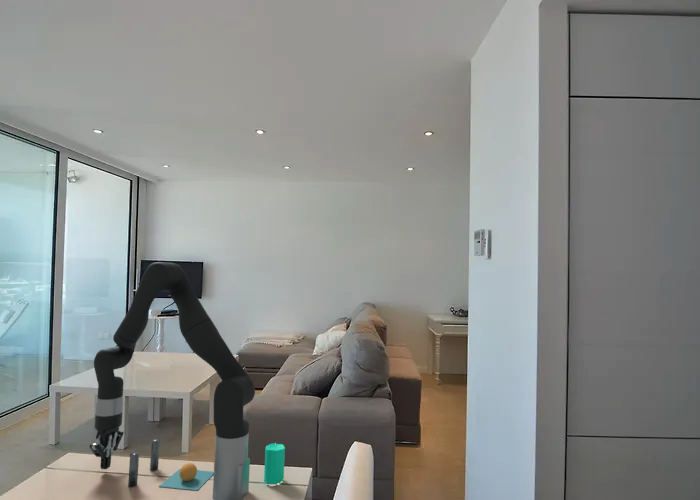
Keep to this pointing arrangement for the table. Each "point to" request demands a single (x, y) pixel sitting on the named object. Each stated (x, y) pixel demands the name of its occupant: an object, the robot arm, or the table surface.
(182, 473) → the ball
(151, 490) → the table surface
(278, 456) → the candle
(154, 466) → the right post
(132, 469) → the left post
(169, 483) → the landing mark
